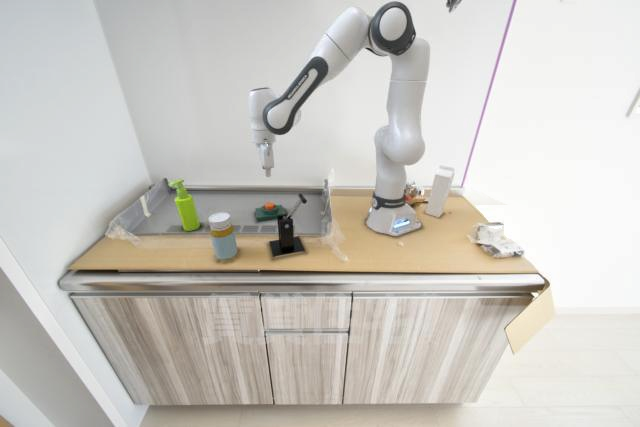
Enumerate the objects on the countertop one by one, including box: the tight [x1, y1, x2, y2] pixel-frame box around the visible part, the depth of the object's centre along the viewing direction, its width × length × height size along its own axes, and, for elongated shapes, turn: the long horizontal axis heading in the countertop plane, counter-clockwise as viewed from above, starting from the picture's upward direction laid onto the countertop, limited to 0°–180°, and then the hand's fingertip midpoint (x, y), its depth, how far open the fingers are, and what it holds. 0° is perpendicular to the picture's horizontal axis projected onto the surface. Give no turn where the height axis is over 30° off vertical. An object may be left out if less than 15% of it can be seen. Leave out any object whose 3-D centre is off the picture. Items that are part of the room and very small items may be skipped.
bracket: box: [268, 212, 306, 257], centre depth 83 cm, size 11×9×13 cm
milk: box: [425, 165, 455, 218], centre depth 105 cm, size 6×6×22 cm
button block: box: [254, 203, 286, 223], centre depth 106 cm, size 12×9×4 cm
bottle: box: [208, 212, 239, 261], centre depth 78 cm, size 7×7×15 cm
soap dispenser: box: [167, 179, 201, 232], centre depth 92 cm, size 6×7×20 cm
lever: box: [281, 192, 308, 220], centre depth 79 cm, size 12×5×2 cm
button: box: [264, 202, 275, 210], centre depth 104 cm, size 4×4×2 cm
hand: (266, 172), depth 96 cm, fingers open, 8 cm apart
